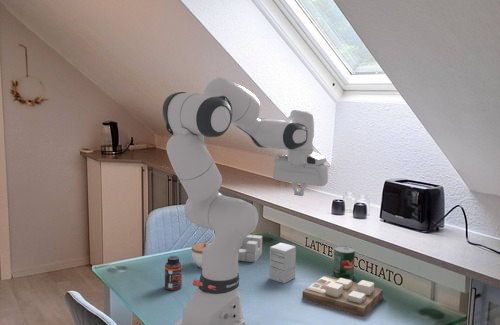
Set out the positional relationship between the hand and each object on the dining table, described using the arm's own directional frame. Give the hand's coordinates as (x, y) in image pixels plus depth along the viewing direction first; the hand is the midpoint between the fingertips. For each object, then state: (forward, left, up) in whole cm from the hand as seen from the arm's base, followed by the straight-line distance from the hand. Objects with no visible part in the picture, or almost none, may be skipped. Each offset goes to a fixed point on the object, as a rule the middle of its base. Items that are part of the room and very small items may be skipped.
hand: (298, 195), depth 173 cm
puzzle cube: (+16, +33, -34) cm, 50 cm away
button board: (+1, -18, -34) cm, 39 cm away
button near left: (-3, -16, -32) cm, 36 cm away
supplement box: (+4, +8, -34) cm, 35 cm away
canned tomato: (+20, -10, -34) cm, 41 cm away
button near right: (-3, -25, -33) cm, 41 cm away
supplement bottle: (-27, +35, -34) cm, 56 cm away
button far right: (+5, -25, -31) cm, 40 cm away
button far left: (+5, -16, -33) cm, 37 cm away
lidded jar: (-3, +40, -34) cm, 53 cm away
